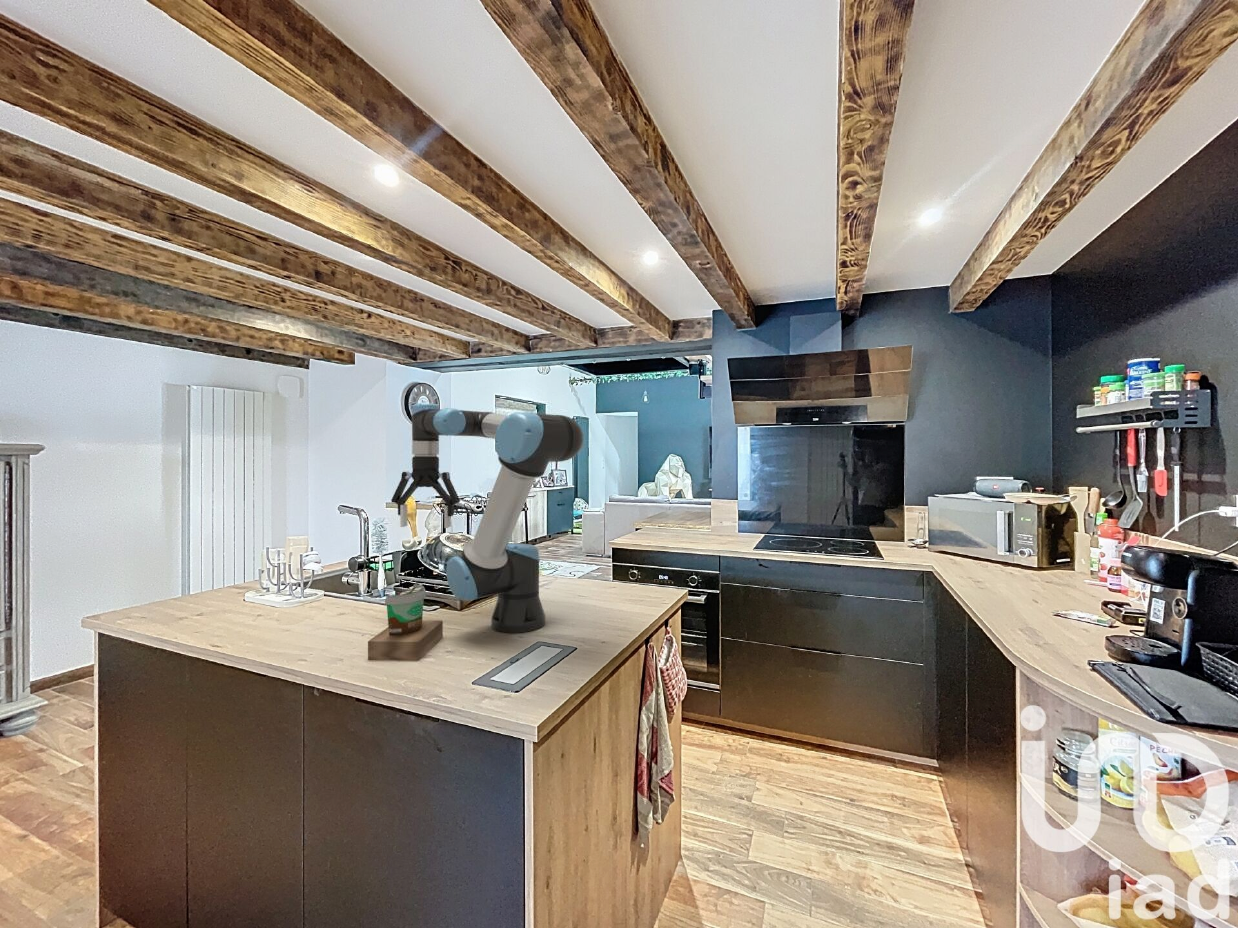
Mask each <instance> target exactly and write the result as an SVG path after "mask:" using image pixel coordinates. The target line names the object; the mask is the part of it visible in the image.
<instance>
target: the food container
mask: <svg viewBox="0 0 1238 928" xmlns="http://www.w3.org/2000/svg"><path fill="white" fill-rule="evenodd" d="M425 598H427V592H426V589H425V587H424V586H423V585H421V584H413V587H412V588H410V589H408V590H407V589H406V590H402V591H399V592H398V593H397V594H396V595H395V594H394V595H385V600H384V605H386V611H387V625H388V626H387V627H389V635H392V636H395V635H405V634H410V633H414V632H416V631H419V630H420V629H421V628H422V620H423V615H424V614H423V613H424V600H425Z"/></svg>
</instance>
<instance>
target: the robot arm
mask: <svg viewBox="0 0 1238 928" xmlns="http://www.w3.org/2000/svg"><path fill="white" fill-rule="evenodd" d="M411 411H412V413H411V436H412V437H411V439H412V441H411V454H412V455H413V457H412V458H411V465H412V466H411V468H412V471H411V472H409V471H402V473H401V477H400V481H399V483H398V484H397V487H396V489H395V491H394V493H393V496H392V498H391V500H390V501H391V503H394V504H397V515H398V516H399V517H400V523H399V524H400V525H399V526H400V528H404V527H407V526H408V504H407V503H406V502H407V501H408V500H409V498H410V497H411V496H412V495H413V494H414V492H415V491H416V490H417V489H418V488H425V487H426V488H433V489H434V490H435V491H436V493H437V494H438V495H439V496H440V498H441V499H442V500H443V501H444V503H445V504H446V505H444V509H443V510H444V511H443V512H444V514H443V515H444V523H443V524H444V525H443V526H444V527H443V528H444V529H449V528H451V527H452V523H451V521H452V520H451V519H452V517H453V516H454V514H455V513H454V509H455V508H454V507H455V505H456V504H459V503H461V500H460V497H459V495H458V493H457V491H456V489H455V486H454V484H453V482H452V481H451V476H450V475H451V474H450V472H449V471H445V472H440V457H439V456H438V455H440V436H453V437H455V436H459V437H477V438H478V437H480V438H486V439H493V440H494V441H495V442H496V443H495V444H494V448H495V451H496V454H497V456H498V457H497V459H498V462H499V464H500V465H501V467H500V470H499V472H498V475H497V477H496V479H495V483H494V485H493V488H492V491H491V493H490V495H489V498H488V501H487V503H486V506H485V508H484V511H483V513H482V516H481V519H480V521H479V525H478V526H477V530H476V532H475V535H474V538H473V539H471V540H469V541H467V542H466V543H465V544H464V546H463V549H462V551H461V554H460V555H459V556H458V555H455V556H453V557H450V559H449V560H448V562H447V565H446V571H445V572H446V574H445V575H446V580H447V583H448V588H449V589H450V591H451V593H452V595H454V597H455V598H456V599H457V600H459V601H461V602H466V601H467V602H468V601H475V600H478V599H481V598H485V597H490V596H493V595H497V598H496V602H495V605H494V609H493V612H492V615H491V620H490V621H491V624H490V626H491V628H492V629H493V630H495V631H498V632H502V633H510V634H511V633H514V634H515V633H525V632H532V631H536V630H539V629H541V628H542V627H544V626H545V624H546V614H545V611H544V608H543V604H542V601H541V597H540V555H539V548H538V547H537V546H535V545H534V544H529V543H519V542H510V540H511V538H512V536H513V533H514V530H515V527H516V526H517V523H518V521H519V518H520V516H521V514H522V511H523V508H524V506H525V504H526V501H527V498H528V496H529V494H530V492H531V489H532V487H533V485H534V482H535V480H536V479H538V478H541V477H543V475H544V474H545V472H546V469H547V467H548V464H549V463H556V462H557V463H558V462H560V463H561V462H566V461H569V460H572V459H573V458H574V457H575V456H577V454H579V453H580V452H581V449H582V447H583V444H584V432H583V429H582V428H581V426H580V424H579V423H578V422H577V421H576V420H575V419H573V418H571V417H569V416H567V415H563V414H562V415H561V414H550V413H549V414H547V413H537V412H532V411H523V412H519V411H518V412H513V413H511V414H502V413H501V414H500V413H496V412H492V411H474V410H464V409H463V410H462V409H461V410H460V409H457V408H452V407H451V408H450V407H444V408H442V409H441V408H440V407H439V405H438V404H436V403H425V402H423V403H419V402H418V403H417V402H416V403H414V404H413V405H412V410H411ZM411 478H412V480H413V481H412V482H411V483H410V485H409V486H408V488H407V489H406V487H407V485H408V483H409V481H410V479H411ZM439 479H441V480H442V482H443V484H444V487H445V488H446V490H445V489H444V488H443V486H442V484H441V483H440V481H439ZM404 491H405V492H404Z"/></svg>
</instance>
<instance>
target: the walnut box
mask: <svg viewBox="0 0 1238 928" xmlns="http://www.w3.org/2000/svg"><path fill="white" fill-rule="evenodd" d="M443 622H444V621H443V620H428V619H427V620H423V619H422V628H421V629H420V630H419V631H416V632H414V633H410V634H405V635H395V636H392V635H389V626H387V627H386V628H384V629H383V630H382V631H380V632H379V633H378V634H377V635H375V636H374V637H372V638H370V639H369V640H368V641H367V661H398V662H399V661H401V662H402V661H406V662H407V661H408V662H409V661H410V662H411V661H412V662H413V661H415V662H417V661H420V660H421V659H422V658H423V657H424V656H425V655H426V654H427V653H428V652H429V651H430V650H431V649H432V648H433V647H434V646H436V644H438V643H439V641H441V640H442V639H443V637H444V633H443V632H444V627H443V626H444V623H443Z"/></svg>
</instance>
